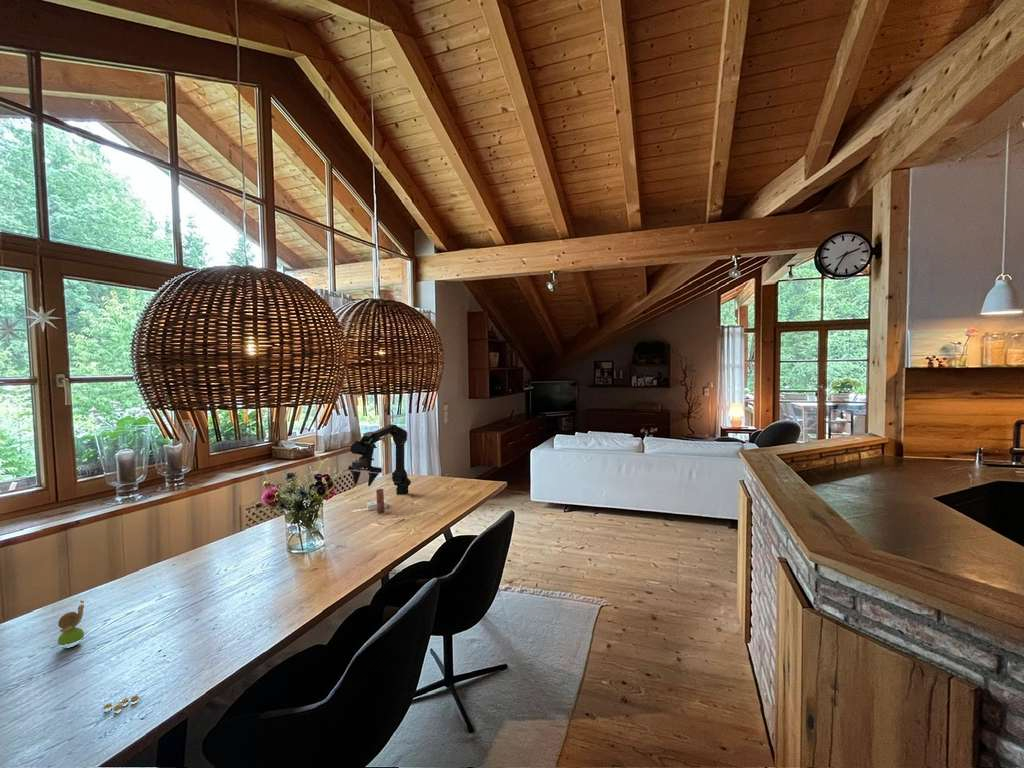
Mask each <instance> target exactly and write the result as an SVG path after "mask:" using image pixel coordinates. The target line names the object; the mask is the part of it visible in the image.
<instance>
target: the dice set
mask: <svg viewBox="0 0 1024 768" xmlns="http://www.w3.org/2000/svg"><path fill="white" fill-rule="evenodd" d="M124 698H125V699H123V700H122V702H121V703H120V704H118V705H116V706H115V705H114V706H113V705H112V703H111V702H110V703H106V704H105V705H103V710H104V709H106V708H109V707H111V706H112V710H113V712H114V711H117V710H119V709H121V708H122V703H123V704H124V703H126V702H129V698H128V697H124ZM139 698H140V697H139V695H138V694H136V695H134V696H132V697H130V703H131V702H135V701H137V700H138V699H139ZM139 700H140V699H139ZM122 709H123V708H122Z"/></svg>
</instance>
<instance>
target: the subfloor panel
mask: <svg viewBox="0 0 1024 768" xmlns="http://www.w3.org/2000/svg"><path fill="white" fill-rule="evenodd" d="M364 510H367V511H368V509H367V508H359V509H353V510H350V512H353V513H354V512H355V513H356V512H361V511H364Z"/></svg>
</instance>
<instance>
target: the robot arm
mask: <svg viewBox="0 0 1024 768" xmlns="http://www.w3.org/2000/svg"><path fill="white" fill-rule="evenodd" d="M387 435H391V436H392V441H393V442H394V444H395V469H394V471H391V472H392V473H391V476H392V477H391V480H392V482H393V486H396V487H395V493H396V494H395V495H397V496H399V495H400V496H401V495H403V496H404V495H407V494H409V486H410V485H411V484H412V480H410V478H409V477H408V473H407V470H406V469H405V444H406V442H407V441H408V431H407V430H406V429H403V428H401V427H399V426H398V425H397V424H393V423H391V424H387V425H386V426H383V427H382V428H379V429H377V430H374V431H367V432H364V433H363V436H361V438H360V439H359V440H354V443H353V444H352V445H351V446H350V452H351V454H353V455H360V456H359V458H358V459H356V460H354V461H351V464H349V465H348V468H347V470H348V471H349V472H350V473H352V474H351V475H352V476H353V482H354V483H353V484H354V485H358V482H359V479H360V477H361V473H362V471H366V472H367V473H368V482H367V483H368V484H367V486H368V487H370V486H371V485H372V483H373V482H374V480H376V478H377V477H378V475H380V474H382V472H383V468H382V467H380V466H379V467H378V466H373V465H372V464H373V463H372V462H373V461H374V460H375V458H374V457H373V456H374V450H375V449H377V448H378V447H377V446H376V443H377V442H379V441H380V439H381V438H383V437H384V436H385V437H386V436H387Z"/></svg>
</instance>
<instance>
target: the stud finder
mask: <svg viewBox="0 0 1024 768" xmlns="http://www.w3.org/2000/svg"><path fill="white" fill-rule="evenodd" d="M385 508H386V509H387V508H388V503H387V500H386V499H384V509H385ZM366 509H367V511H375V510H377V500H375V501H369V502H366Z"/></svg>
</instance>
